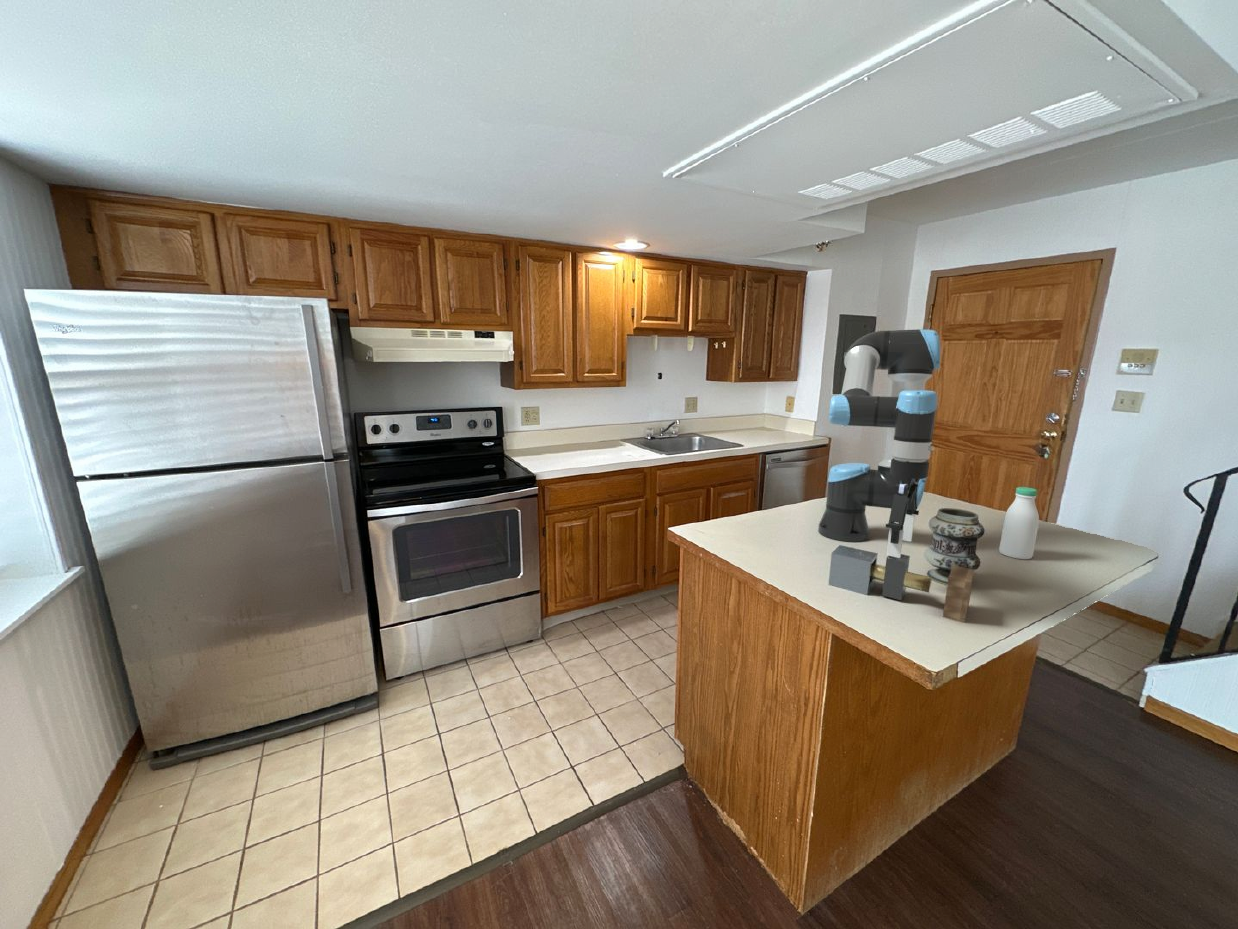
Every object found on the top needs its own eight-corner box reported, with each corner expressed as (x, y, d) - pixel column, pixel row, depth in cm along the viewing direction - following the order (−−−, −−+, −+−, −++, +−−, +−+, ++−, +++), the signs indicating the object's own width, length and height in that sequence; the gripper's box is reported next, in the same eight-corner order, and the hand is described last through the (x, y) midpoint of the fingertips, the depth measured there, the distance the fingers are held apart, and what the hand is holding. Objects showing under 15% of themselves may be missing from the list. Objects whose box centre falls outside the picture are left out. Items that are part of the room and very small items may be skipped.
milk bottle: (1038, 561, 138) (1051, 492, 133) (1007, 559, 139) (1019, 491, 135) (1022, 551, 145) (1034, 485, 141) (993, 549, 146) (1003, 484, 142)
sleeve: (828, 584, 123) (831, 553, 122) (836, 575, 129) (839, 545, 127) (867, 595, 118) (870, 562, 116) (874, 585, 123) (877, 553, 121)
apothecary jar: (964, 571, 131) (974, 507, 128) (986, 591, 120) (997, 521, 116) (914, 567, 134) (922, 504, 130) (931, 586, 122) (941, 517, 119)
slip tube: (834, 582, 124) (837, 547, 122) (839, 575, 127) (843, 541, 125) (925, 607, 111) (931, 568, 109) (929, 599, 115) (934, 561, 113)
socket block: (942, 616, 108) (948, 576, 106) (947, 603, 114) (953, 565, 112) (964, 622, 105) (971, 581, 103) (968, 608, 111) (974, 569, 109)
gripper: (920, 469, 99) (907, 568, 103) (937, 453, 118) (926, 537, 122) (879, 465, 103) (868, 559, 107) (902, 450, 122) (892, 531, 126)
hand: (899, 548), depth 115 cm, fingers open, 13 cm apart
